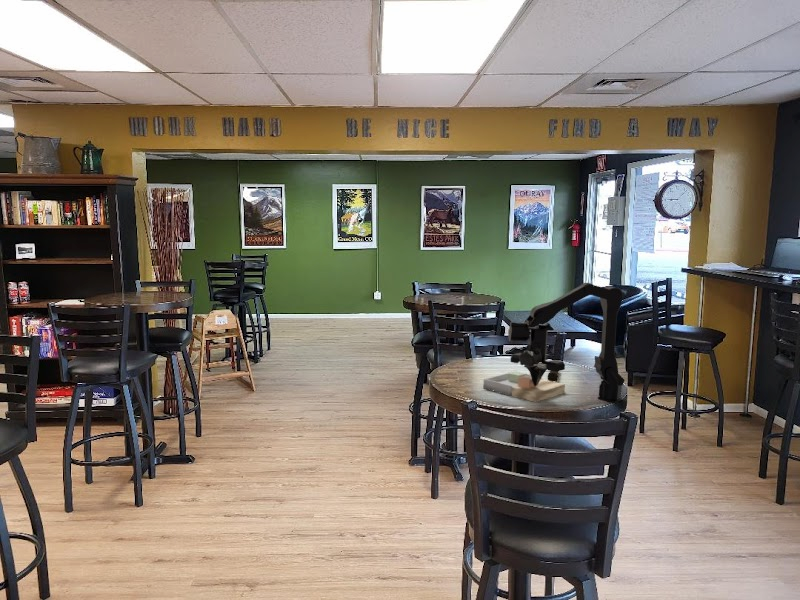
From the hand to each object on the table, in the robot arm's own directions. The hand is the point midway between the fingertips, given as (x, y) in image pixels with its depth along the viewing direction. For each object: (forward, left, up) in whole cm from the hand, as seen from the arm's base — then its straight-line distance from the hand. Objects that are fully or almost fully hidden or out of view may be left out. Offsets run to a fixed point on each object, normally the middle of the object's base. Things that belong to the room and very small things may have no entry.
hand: (535, 385), depth 198 cm
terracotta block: (+4, 0, -1) cm, 4 cm away
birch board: (+1, -4, -4) cm, 6 cm away
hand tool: (+12, -32, -5) cm, 35 cm away
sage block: (+13, -8, 0) cm, 15 cm away
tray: (+12, -4, -4) cm, 14 cm away
